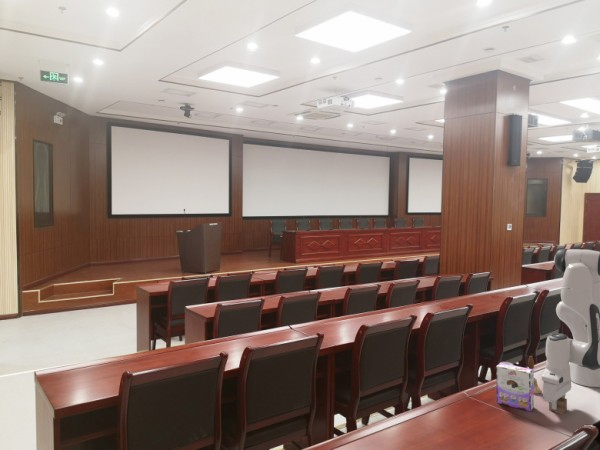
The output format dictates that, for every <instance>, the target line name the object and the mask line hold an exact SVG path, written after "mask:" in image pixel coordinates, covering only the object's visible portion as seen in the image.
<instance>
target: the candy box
mask: <svg viewBox="0 0 600 450" xmlns="http://www.w3.org/2000/svg"><path fill="white" fill-rule="evenodd" d="M495 371H496V377H495V379H496V382H495V383H496V384H495V386H496V403H497V404H500V405H501V404H502V405H505V406H509V407H512V408H516V409H519V410H523V411H527V412H531V411H532V410H533V409H534V408H535V394H534V378H535V377H534V368H533V369H529V367H528V368H527V367H522V366H518V365H515V364H513V365H509V364H504V363H500V362H499V363H498V364H497V365H496V366H495Z"/></svg>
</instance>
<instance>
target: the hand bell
mask: <svg viewBox="0 0 600 450" xmlns="http://www.w3.org/2000/svg"><path fill="white" fill-rule="evenodd" d="M527 365H528V369H533V370H534V367H535V360H534V357H533V356H532V355H529V356H528V360H527ZM541 393H542V389H541V388H540V387H539V385H538V380H537V378H536V377H534V395H535V394H541Z"/></svg>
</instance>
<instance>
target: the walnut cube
mask: <svg viewBox="0 0 600 450" xmlns="http://www.w3.org/2000/svg"><path fill="white" fill-rule="evenodd" d="M557 405H558V408H557V409H556V410H555V409H552V404H551V402H548V410H549V411H551V412H554V413H557V414H560V415H563V414H565V413H566V412H567V411H568V398H566V397H565V398H562V397H560V398H559V399H558V400H557Z"/></svg>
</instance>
